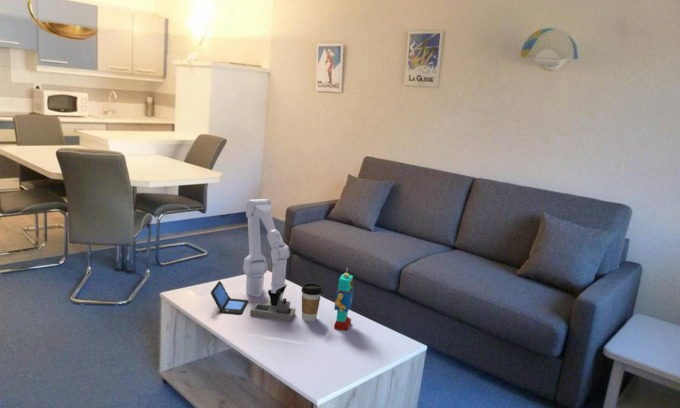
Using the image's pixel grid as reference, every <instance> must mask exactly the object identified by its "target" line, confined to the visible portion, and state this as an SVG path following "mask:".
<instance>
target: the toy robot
mask: <svg viewBox="0 0 680 408" xmlns="http://www.w3.org/2000/svg"><path fill="white" fill-rule="evenodd" d="M348 269H349V268H348V267H346V270H345V272H344V273H342V274H341V276H340V277H339V280H338V287H337V290H336V292H335V298H334V311H336V320H335V323H334V325H333V329H336V330H340V331H341V330H342V331H346V332H347V331H348V330H349V327H350V325H351V322H352V318H351V317H348V314H349V310H350V308H351V307H352V303H353V295H354V287H353V283H354V275H351V274H349V273H348Z"/></svg>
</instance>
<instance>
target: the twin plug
mask: <svg viewBox="0 0 680 408" xmlns="http://www.w3.org/2000/svg"><path fill="white" fill-rule="evenodd" d="M290 308H291V301H290V300H289V301H288V300H287V298H285V297H284V298H282V300H281V301H280V302H279V304H278V313H283V314H289V312H290Z"/></svg>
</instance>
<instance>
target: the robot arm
mask: <svg viewBox="0 0 680 408" xmlns="http://www.w3.org/2000/svg"><path fill="white" fill-rule="evenodd" d="M272 209H273V206H272V203H271V200H270V199H269V198H257V199H248V200H247V201H246V203H245V217H246V218H247V228H248V230H247V232H248V234H247V235H248V249H249V251H248V252H249V253H248V255H247V256H246V257H245V258H243V266H242V268H243V269H242V271H243V273H244V276H246V281H245V282H246V283H245V291H243V293H242V295H244V296H245V295H246V296H250V297H251V296H252V297H261V295H263V294H264V292H265V291H266V289H264V282H265V274H266V273H267V272H268V263H267V260H266V256H264V255H263V254H262V250H261V249H262V248H261V247H262V245H261V243H262V242H261V228H260V227H261V226H260V224H261V223H260V220H261V221H262V223H263V225H264V227H265V230H266V231H267V234H266V238H267V241H268V243H269V246H270V248H271V252H270V256H271V262H272V273H271V282H270V287H271V289H268V290H267V293H268V296H269V298H270V299H269V301H270V300H271V305H274V306H277V304H278V300H279V297H280V295H281V293H282V292H283V294H284V292H285V290H286V288H287V287H288V283H286V273H287V263H288V261H287V259H289V258H290V256H291V250H290V247H289V246H288V245H287V244H286V243H285V242H284V240H283V238H282V235H281V232H280V231H279V230H278V229H276V226H275V223H274V219H273V217H272V213H271V212H272ZM277 289H279V292H278V291H277Z"/></svg>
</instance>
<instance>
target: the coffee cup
mask: <svg viewBox="0 0 680 408" xmlns="http://www.w3.org/2000/svg"><path fill="white" fill-rule="evenodd" d="M322 292H323V290H322V285H320V284H318V283H313V282H306V283H303V285H302V286H301V294H302V295H301V319H302V320H303V321H306V322H315V321H316V320H317V317H318V311H319V307H320V301H321V294H322Z"/></svg>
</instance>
